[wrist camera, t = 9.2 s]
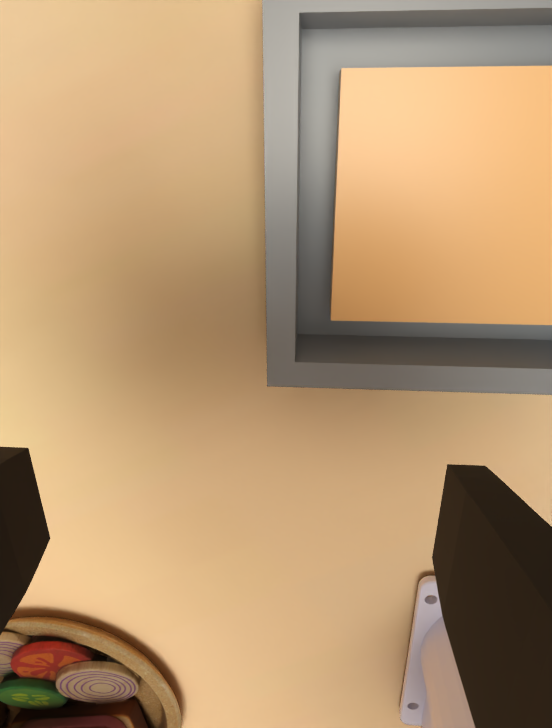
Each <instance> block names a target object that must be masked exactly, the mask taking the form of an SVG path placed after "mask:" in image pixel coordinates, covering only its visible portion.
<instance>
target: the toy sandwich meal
mask: <svg viewBox="0 0 552 728" xmlns="http://www.w3.org/2000/svg"><path fill="white" fill-rule="evenodd" d="M181 725H182V719H181V712H180V708H179V705H178V702H177V699H176V697H175V695H174V693H173V691H172V689H171V688H170V686H169V684H168V683H167V682H166V680H165V679H164V678H163V676H162V674H161V673H160V671H159V670H158V669H157V668H156V666H155V665H154V664H153V663H152V662H151V661H150V660H149V659H148V658H147V657H146V656H145V655H144V654H142V653H141V652H140V651H139V650H137V649H136V648H135V647H133V646H132V645H130V644H129V643H127V642H126V641H124V640H122V639H120V638H119V637H117V636H115V635H113V634H111V633H108V632H106V631H104V630H102V629H99V628H96V627H94V626H91V625H88V624H84V623H81V622H77V621H73V620H68V619H62V618H54V617H22V618H15V619H10V620H9V622H8V623H7V625H6V627H5V628H4V630H3V632H2V633H1V635H0V728H181Z"/></svg>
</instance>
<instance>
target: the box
mask: <svg viewBox="0 0 552 728" xmlns="http://www.w3.org/2000/svg"><path fill="white" fill-rule="evenodd" d="M262 3H263V83H264V163H265V243H266V323H267V386H275V387H308V388H342V389H375V390H409V391H442V392H475V393H509V394H542V395H552V0H262Z"/></svg>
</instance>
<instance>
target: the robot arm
mask: <svg viewBox="0 0 552 728" xmlns="http://www.w3.org/2000/svg"><path fill="white" fill-rule="evenodd" d="M49 540H50V536H49V531H48V527H47V523H46V519H45V515H44V511H43V507H42V503H41V499H40V494H39V490H38V486H37V482H36V478H35V474H34V470H33V466H32V462H31V457H30V453H29V449H28V448H15V447H0V635H1V633H2V632H3V630H4V628H5V627H6V625H7V623H8V622H9V620H10V618H11V617H12V615H13V613H14V612H15V610H16V608H17V607H18V605H19V603H20V602H21V600H22V598H23V596H24V595H25V593H26V591H27V589H28V587H29V585H30V582H31V580H32V578H33V576H34V574H35V572H36V570H37V568H38V565H39V563H40V561H41V558H42V556H43V554H44V551H45V549H46V547H47V544H48V542H49ZM432 559H433V565H434V571H435V576H426V577H424V578H422V579H421V580H420V582H419V585H418V591H417V598H416V604H415V611H414V618H413V624H412V631H411V637H410V644H409V650H408V657H407V664H406V670H405V677H404V683H403V690H402V697H401V703H400V710H399V713H400V720H401V721H402V722H403V723H405V724H407V725H416V726H422V728H552V527H551V526H550V525H549V524H548V523H547V522H546V521H545V520H544V519H542V518H541V517H540V516H539V515H538V514H537V513H536V512H535V511H534V510H533V509H532V508H531V507H530V506H528V505H527V504H526V503H525V502H524V501H523V500H522V499H521V498H520V497H519V496H518V495H517V494H516V493H515V492H513V491H512V490H511V489H510V488H509V487H508V486H507V485H506V484H505V483H504V482H503V481H502V480H501V479H499V478H498V477H497V476H496V475H495V474H494V473H493V472H492V471H491V470H489V469H488V468H487V467H486V466H475V465H449V464H447V470H446V476H445V483H444V489H443V495H442V501H441V507H440V513H439V519H438V526H437V532H436V538H435V544H434V550H433V556H432ZM429 595H433V596H429ZM428 596H429V597H428Z"/></svg>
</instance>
